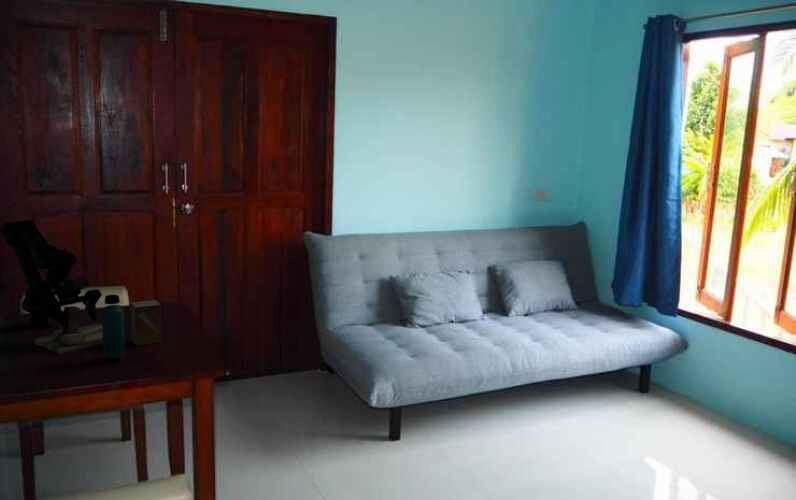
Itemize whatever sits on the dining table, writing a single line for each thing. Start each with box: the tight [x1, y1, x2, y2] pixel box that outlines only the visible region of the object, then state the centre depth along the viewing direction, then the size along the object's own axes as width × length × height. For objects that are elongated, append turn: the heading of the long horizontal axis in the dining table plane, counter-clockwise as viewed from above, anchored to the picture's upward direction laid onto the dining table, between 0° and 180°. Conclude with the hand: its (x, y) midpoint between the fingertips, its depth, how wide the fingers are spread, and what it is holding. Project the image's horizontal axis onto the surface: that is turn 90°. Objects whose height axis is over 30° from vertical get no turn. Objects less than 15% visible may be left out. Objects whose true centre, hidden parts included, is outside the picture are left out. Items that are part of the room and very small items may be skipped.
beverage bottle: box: [100, 294, 127, 359], centre depth 208 cm, size 6×7×20 cm
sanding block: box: [53, 305, 86, 345], centre depth 218 cm, size 8×6×11 cm
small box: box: [130, 299, 162, 347], centre depth 226 cm, size 8×6×13 cm
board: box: [33, 323, 103, 355], centre depth 226 cm, size 15×22×2 cm
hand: (82, 323), depth 220 cm, fingers open, 9 cm apart
